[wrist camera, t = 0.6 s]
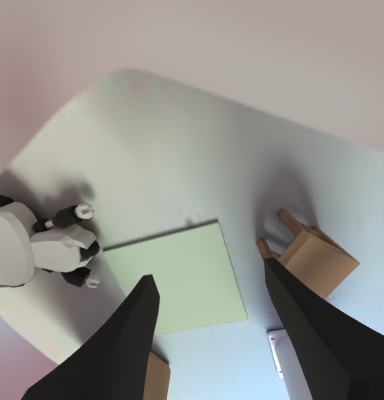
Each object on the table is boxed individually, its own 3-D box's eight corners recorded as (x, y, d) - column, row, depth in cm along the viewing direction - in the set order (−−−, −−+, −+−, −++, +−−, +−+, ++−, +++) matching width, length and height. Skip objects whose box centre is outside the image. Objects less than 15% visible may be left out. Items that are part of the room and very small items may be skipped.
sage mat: (247, 317, 26) (247, 319, 26) (147, 334, 29) (146, 336, 28) (218, 221, 22) (218, 222, 22) (103, 250, 24) (101, 252, 24)
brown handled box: (319, 229, 22) (360, 263, 16) (291, 261, 23) (319, 303, 17) (281, 209, 21) (309, 237, 15) (256, 243, 23) (272, 280, 17)
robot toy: (104, 191, 23) (-26, 182, 22) (85, 205, 19) (-77, 194, 18) (111, 275, 27) (0, 269, 26) (96, 302, 23) (-36, 295, 22)
